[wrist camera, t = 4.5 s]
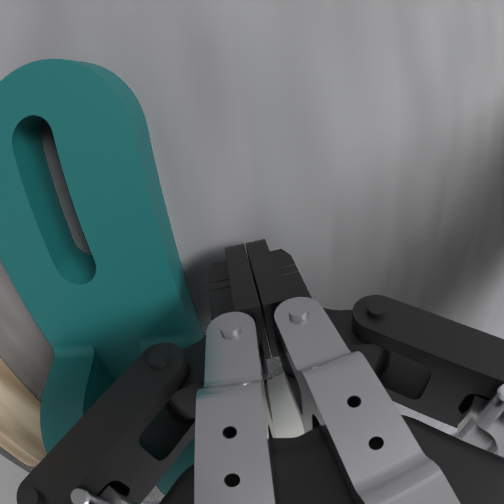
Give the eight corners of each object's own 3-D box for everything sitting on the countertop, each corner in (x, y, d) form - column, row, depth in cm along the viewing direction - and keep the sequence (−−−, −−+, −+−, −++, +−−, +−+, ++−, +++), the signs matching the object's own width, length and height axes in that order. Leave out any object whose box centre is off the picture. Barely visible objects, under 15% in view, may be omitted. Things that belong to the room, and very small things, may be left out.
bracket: (221, 385, 17) (237, 507, 11) (119, 395, 17) (110, 508, 10) (133, 37, 8) (5, -32, 1) (-14, 101, 8) (-162, 162, 1)
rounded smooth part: (345, 353, 17) (367, 398, 14) (340, 403, 21) (354, 441, 18) (242, 379, 17) (250, 429, 14) (257, 424, 21) (265, 464, 18)
